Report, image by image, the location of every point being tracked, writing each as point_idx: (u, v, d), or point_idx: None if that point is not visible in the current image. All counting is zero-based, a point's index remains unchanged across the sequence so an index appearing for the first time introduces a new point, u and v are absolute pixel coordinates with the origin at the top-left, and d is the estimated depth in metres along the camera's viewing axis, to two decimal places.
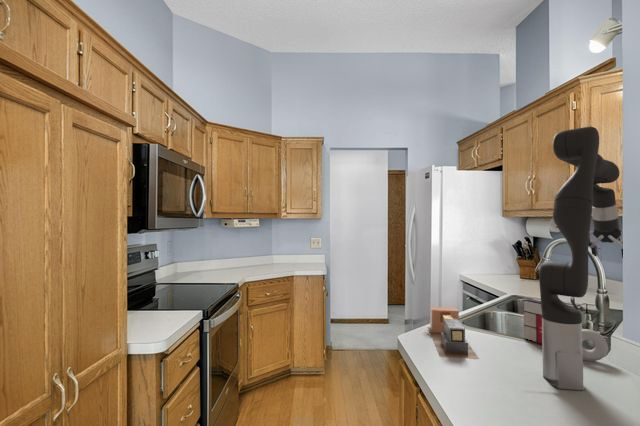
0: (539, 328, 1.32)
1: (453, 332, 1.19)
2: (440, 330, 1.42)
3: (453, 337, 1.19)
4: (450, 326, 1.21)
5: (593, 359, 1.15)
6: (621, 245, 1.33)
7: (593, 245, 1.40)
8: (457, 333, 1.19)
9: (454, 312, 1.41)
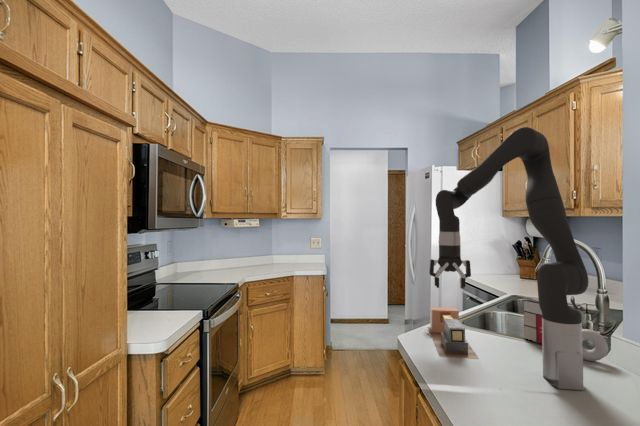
0: (539, 328, 1.32)
1: (453, 332, 1.19)
2: (440, 330, 1.42)
3: (453, 337, 1.19)
4: (450, 326, 1.21)
5: (593, 359, 1.15)
6: (462, 274, 1.32)
7: (437, 275, 1.33)
8: (457, 333, 1.19)
9: (454, 312, 1.41)
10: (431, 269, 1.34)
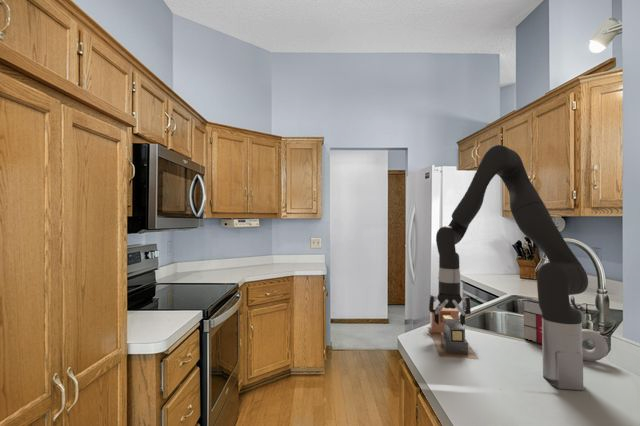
0: (539, 328, 1.32)
1: (453, 332, 1.19)
2: (440, 330, 1.42)
3: (453, 337, 1.19)
4: (450, 326, 1.21)
5: (593, 359, 1.15)
6: (461, 311, 1.31)
7: (437, 311, 1.33)
8: (457, 333, 1.19)
9: (454, 312, 1.41)
10: (431, 306, 1.33)
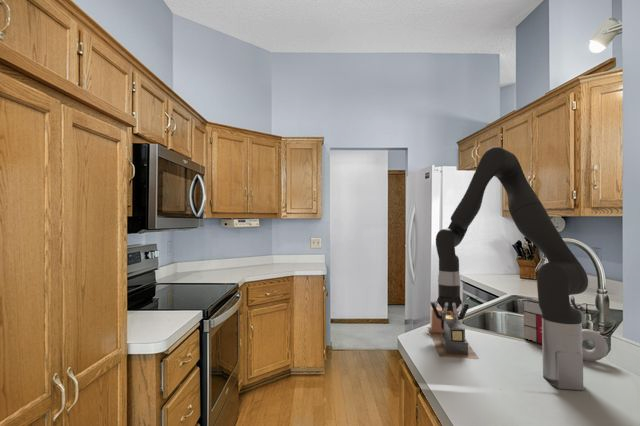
0: (539, 328, 1.32)
1: (453, 332, 1.19)
2: (440, 330, 1.42)
3: (453, 337, 1.19)
4: (450, 326, 1.21)
5: (593, 359, 1.15)
6: (456, 316, 1.32)
7: (444, 317, 1.32)
8: (457, 333, 1.19)
9: None
10: (435, 312, 1.33)
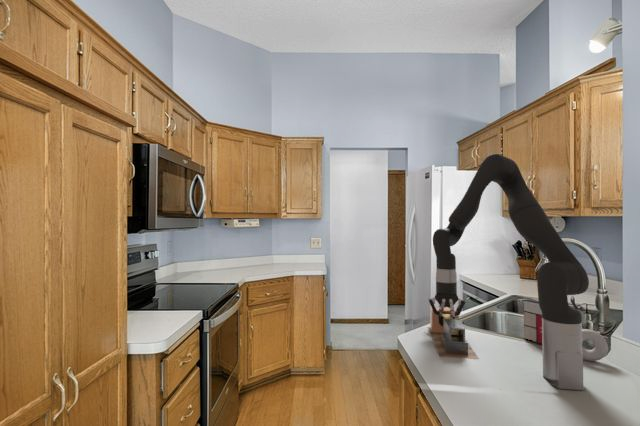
0: (539, 328, 1.32)
1: None
2: (440, 330, 1.42)
3: None
4: (450, 326, 1.21)
5: (593, 359, 1.15)
6: (452, 312, 1.37)
7: (441, 313, 1.38)
8: None
9: None
10: (433, 308, 1.39)
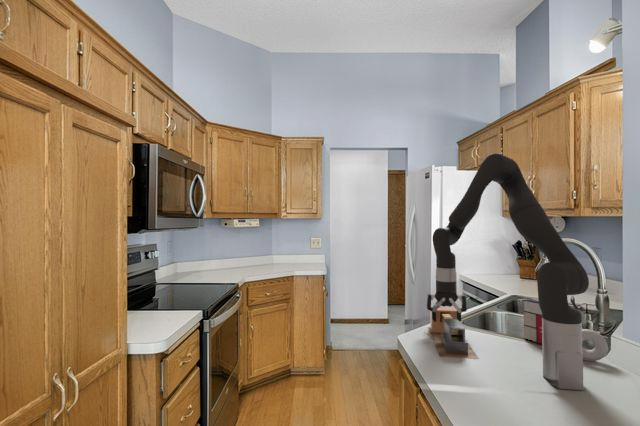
0: (539, 328, 1.32)
1: None
2: (440, 330, 1.42)
3: None
4: (450, 326, 1.21)
5: (593, 359, 1.15)
6: (458, 309, 1.37)
7: (435, 309, 1.39)
8: None
9: (454, 312, 1.41)
10: (428, 304, 1.39)
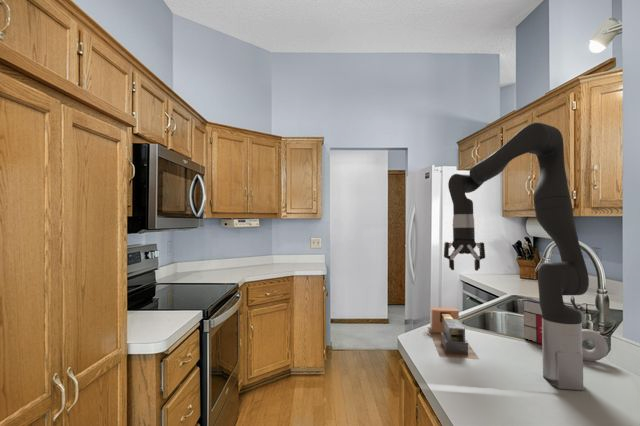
0: (539, 328, 1.32)
1: None
2: (440, 330, 1.42)
3: None
4: (450, 326, 1.21)
5: (593, 359, 1.15)
6: (476, 256, 1.34)
7: (452, 257, 1.35)
8: None
9: (454, 312, 1.41)
10: (446, 251, 1.36)
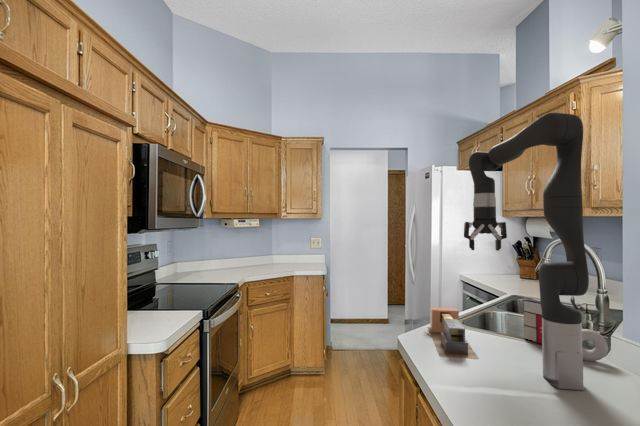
0: (539, 328, 1.32)
1: None
2: (440, 330, 1.42)
3: None
4: (450, 326, 1.21)
5: (593, 359, 1.15)
6: (497, 236, 1.31)
7: (473, 237, 1.33)
8: None
9: (454, 312, 1.41)
10: (466, 231, 1.33)
